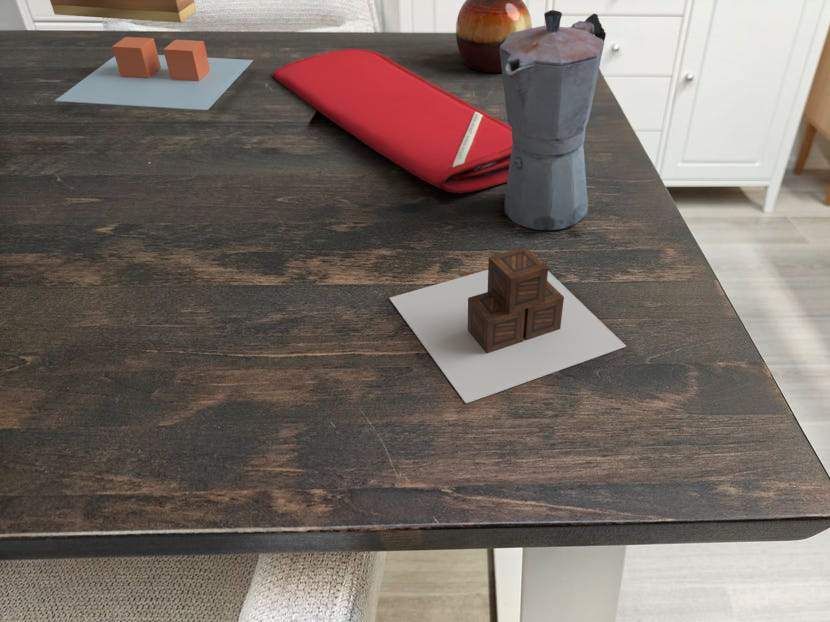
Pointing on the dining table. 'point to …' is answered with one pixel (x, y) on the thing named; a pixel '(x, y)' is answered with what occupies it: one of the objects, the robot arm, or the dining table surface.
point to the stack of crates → (504, 325)
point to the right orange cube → (186, 60)
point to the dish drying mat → (404, 118)
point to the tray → (156, 86)
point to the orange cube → (136, 57)
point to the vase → (488, 30)
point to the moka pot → (549, 119)
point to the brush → (127, 9)
